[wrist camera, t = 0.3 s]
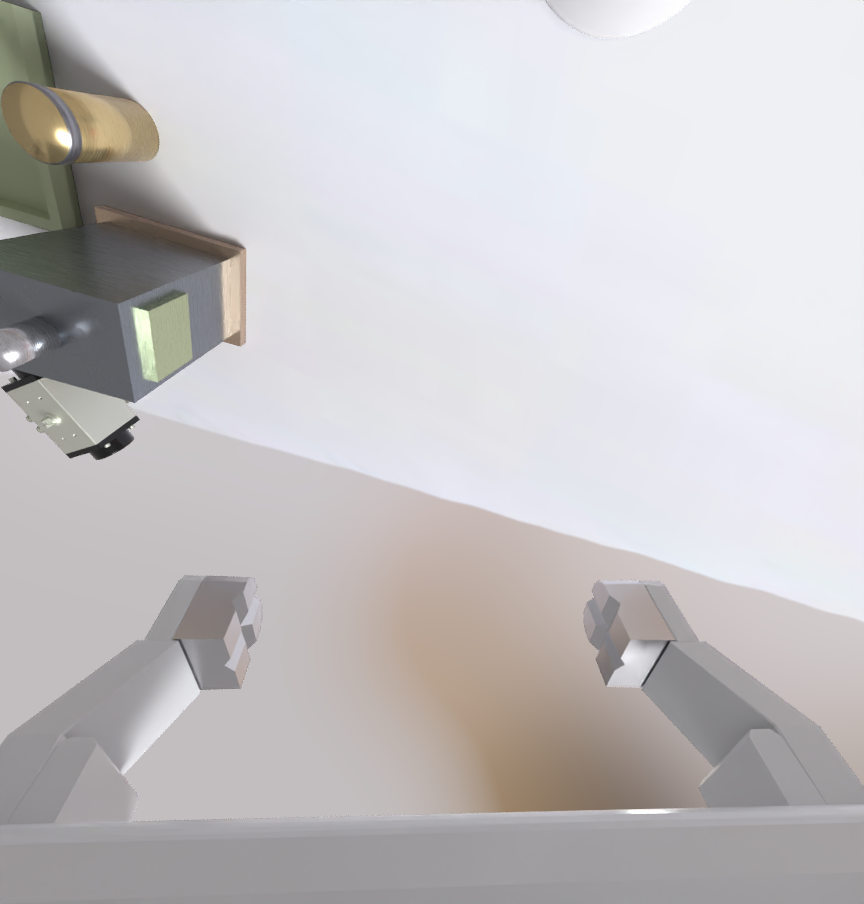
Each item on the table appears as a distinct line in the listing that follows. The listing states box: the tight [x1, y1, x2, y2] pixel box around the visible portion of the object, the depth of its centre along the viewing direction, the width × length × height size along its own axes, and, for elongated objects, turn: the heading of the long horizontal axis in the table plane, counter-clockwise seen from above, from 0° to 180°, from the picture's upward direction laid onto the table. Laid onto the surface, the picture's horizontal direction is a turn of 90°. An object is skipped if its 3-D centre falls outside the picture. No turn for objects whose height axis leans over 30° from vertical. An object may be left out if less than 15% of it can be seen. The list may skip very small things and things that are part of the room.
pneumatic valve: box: [2, 369, 139, 460], centre depth 47 cm, size 6×12×12 cm, turn 20°
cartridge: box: [1, 81, 159, 165], centre depth 33 cm, size 5×5×10 cm
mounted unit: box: [0, 206, 246, 403], centre depth 36 cm, size 10×14×21 cm
